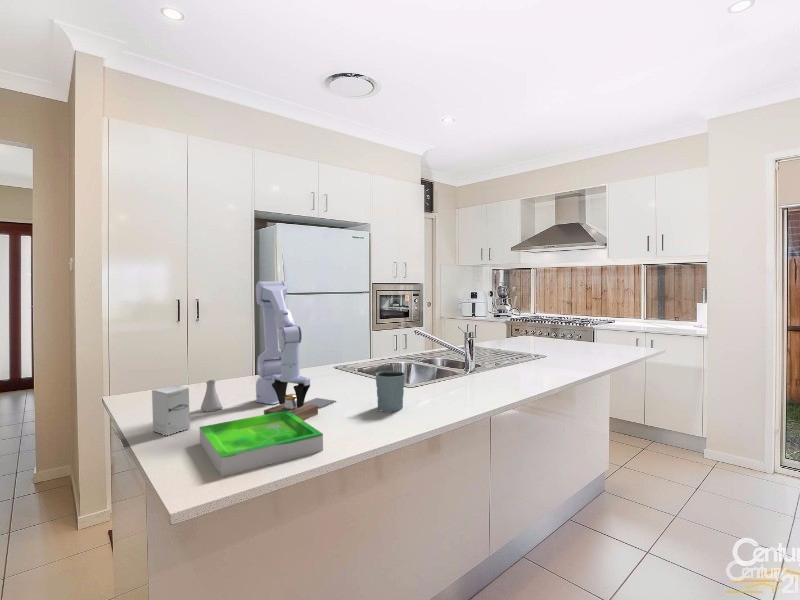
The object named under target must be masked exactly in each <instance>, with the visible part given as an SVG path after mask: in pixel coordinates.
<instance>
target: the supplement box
mask: <svg viewBox="0 0 800 600" xmlns="http://www.w3.org/2000/svg"><path fill="white" fill-rule="evenodd" d="M151 402H152V405H151V406H152V409H151V410H152V431H155V432H158V433H161V434H164V435H166V436H165V437H168V436H171V435H174V434H176V432H177V433H180V432H179V431H181V432H183V430H184V431H187V430H186V429H188V430H190V429H189V428H190V427H191V426H190V425H191V424H190V422H191V420H190V416H191V415H190V389H189V387H185V386H180V385H172V386H166V387H162V388H157V389H154V390H151ZM155 432H154V433H155ZM158 433H157V434H158ZM173 433H174V434H173ZM161 434H160V435H161ZM170 434H171V435H170ZM164 435H163V436H164ZM167 435H168V436H167Z"/></svg>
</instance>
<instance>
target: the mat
mask: <svg viewBox="0 0 800 600" xmlns="http://www.w3.org/2000/svg"><path fill="white" fill-rule="evenodd" d="M334 402H335V403H337V400H333V399H328V398H327V399H326V398H320V397H315V398H312V399H309V400H307V401H304V403H307V404H313V405H318V409H322V408H325V407H327V406H329V404H330V405H332V404H334Z"/></svg>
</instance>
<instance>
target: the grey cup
mask: <svg viewBox="0 0 800 600" xmlns="http://www.w3.org/2000/svg"><path fill="white" fill-rule="evenodd" d="M405 380H406V373H405V372H403V371H399V370H398V371H397V370H384V371H383V370H382V371H379V372H376V373H375V382H376V397H377V401H376V402H377V409H378V410H379V411H380V410H382V411H381V412H384V411H387V413H394V412H393V411H395V412H399V411H401V410H403V405H404V395H405V394H404V391H405V390H404V388H405V382H406V381H405ZM398 410H399V411H398Z"/></svg>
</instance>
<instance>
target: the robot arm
mask: <svg viewBox="0 0 800 600" xmlns="http://www.w3.org/2000/svg"><path fill="white" fill-rule="evenodd" d="M287 292H288V288H287V283H286V282H285V281H284V280H278V281H276V280H275V281H273V280H272V281H271V280H270V281H261V280H258V282H257V283H256V286H255V298H256V304H257V305H259V306H261V310H262V321H263V322H262V323H263V324H262V325H263V338H264V341H263V342H264V351H263V352H262V353H260V354H259V355H258V356H257V363H256V365H257V366H256V369H257V375H258V376H259V377H258V378H257V380H256V383H255V392H256V396H255V397H256V399H254V402H256V403H261V404H268V405H276V404H278V405H280V404H283V403H285V395H287V387H288V384H294V385H293V389H294V392H295V393H294V394H296V400H297V407H302V406H303V404H304V402H305V398H306V396H307V393H308V391H309V389H310V388H311V378H308V377H306V376H302V375H301V373H300V371H301V370H300V368H301V367H300V344H301V342H302V339H303V338H302V328H301V326H300V325H298V323H295V322H296V321H295V320H294V319H295V318H294V317H293V314H292V311H290V310H289V309H287V304H286V301H285V299H286V296H287ZM295 384H296V385H295Z"/></svg>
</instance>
